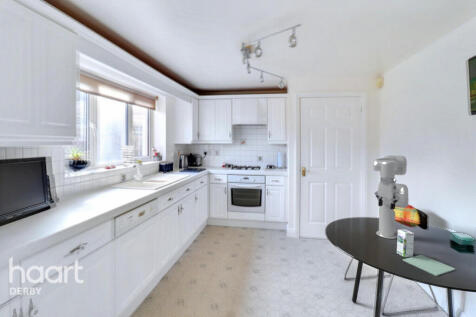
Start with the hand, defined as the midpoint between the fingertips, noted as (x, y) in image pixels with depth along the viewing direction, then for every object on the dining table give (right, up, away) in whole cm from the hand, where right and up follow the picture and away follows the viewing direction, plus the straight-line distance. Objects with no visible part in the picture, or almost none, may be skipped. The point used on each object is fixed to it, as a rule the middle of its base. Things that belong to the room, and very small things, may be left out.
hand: (386, 207), depth 140 cm
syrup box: (+4, -27, -10) cm, 29 cm away
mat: (+8, -27, -21) cm, 35 cm away
